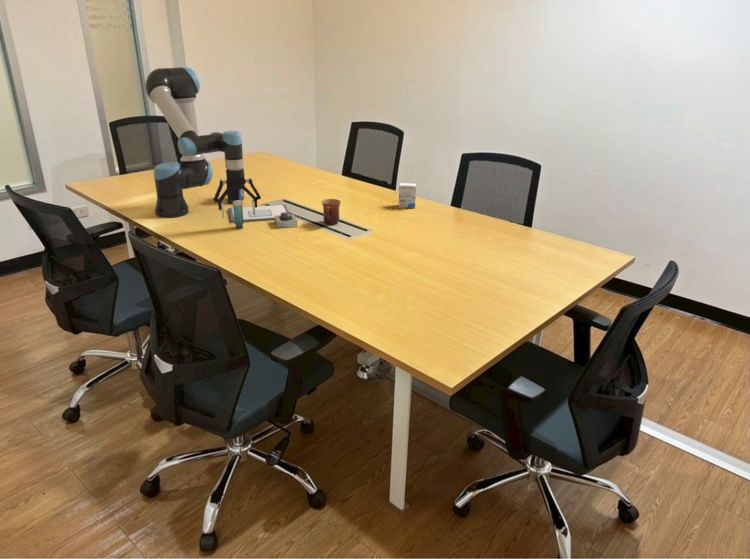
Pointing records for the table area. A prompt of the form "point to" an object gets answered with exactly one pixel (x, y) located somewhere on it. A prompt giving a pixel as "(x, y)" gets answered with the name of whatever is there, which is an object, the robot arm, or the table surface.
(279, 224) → the button housing
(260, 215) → the sheet
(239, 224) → the marker
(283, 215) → the button
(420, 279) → the table surface
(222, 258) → the table surface
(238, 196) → the small box
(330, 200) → the mug
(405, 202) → the ink box
